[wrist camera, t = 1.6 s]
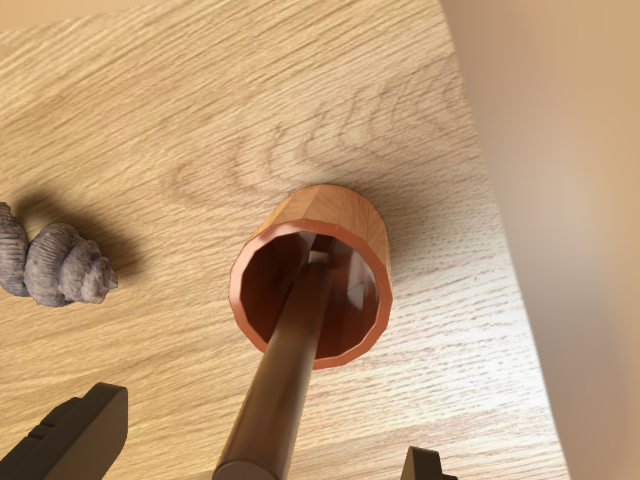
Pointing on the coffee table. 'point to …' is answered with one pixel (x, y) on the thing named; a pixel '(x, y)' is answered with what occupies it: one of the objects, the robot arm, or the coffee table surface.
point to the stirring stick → (281, 379)
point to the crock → (346, 268)
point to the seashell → (52, 264)
